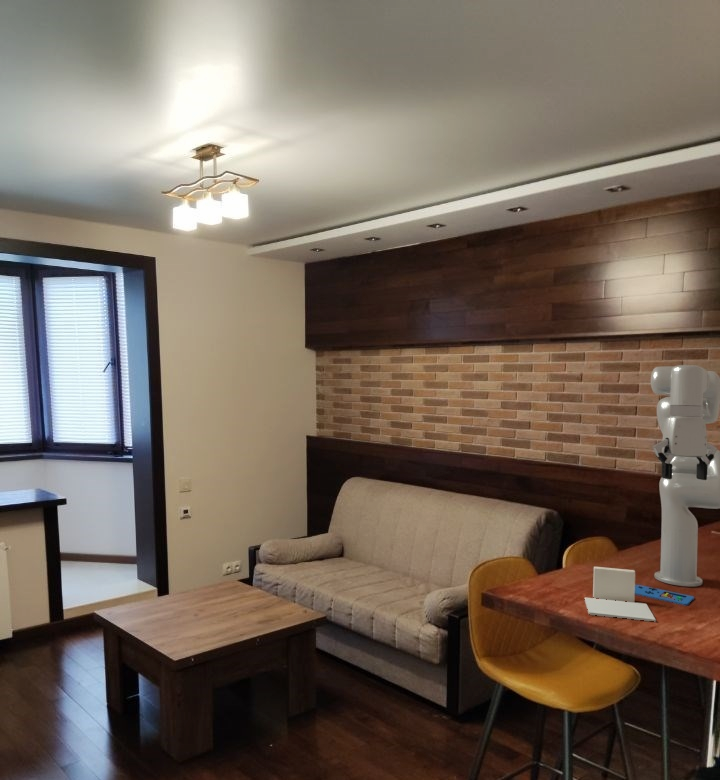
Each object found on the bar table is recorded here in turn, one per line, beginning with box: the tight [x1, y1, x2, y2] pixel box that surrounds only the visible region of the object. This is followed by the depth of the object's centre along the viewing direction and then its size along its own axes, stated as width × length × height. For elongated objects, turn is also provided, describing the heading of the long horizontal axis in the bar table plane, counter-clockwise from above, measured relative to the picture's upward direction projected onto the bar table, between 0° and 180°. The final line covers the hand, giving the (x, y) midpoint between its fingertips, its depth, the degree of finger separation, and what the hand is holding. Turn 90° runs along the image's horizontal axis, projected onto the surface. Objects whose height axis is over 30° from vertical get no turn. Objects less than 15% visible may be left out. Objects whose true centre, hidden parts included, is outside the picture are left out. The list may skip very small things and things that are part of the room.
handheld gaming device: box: [635, 584, 695, 606], centre depth 171 cm, size 8×1×15 cm
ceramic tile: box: [592, 566, 636, 602], centre depth 167 cm, size 2×10×8 cm, turn 75°
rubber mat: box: [584, 597, 657, 623], centre depth 158 cm, size 12×15×1 cm
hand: (684, 479), depth 163 cm, fingers open, 9 cm apart
